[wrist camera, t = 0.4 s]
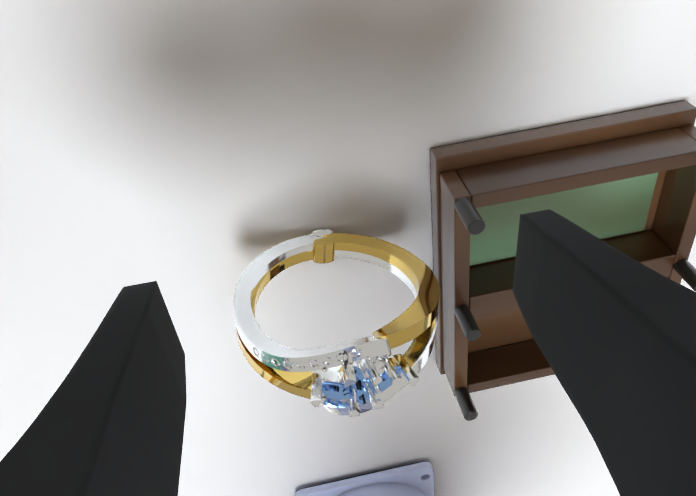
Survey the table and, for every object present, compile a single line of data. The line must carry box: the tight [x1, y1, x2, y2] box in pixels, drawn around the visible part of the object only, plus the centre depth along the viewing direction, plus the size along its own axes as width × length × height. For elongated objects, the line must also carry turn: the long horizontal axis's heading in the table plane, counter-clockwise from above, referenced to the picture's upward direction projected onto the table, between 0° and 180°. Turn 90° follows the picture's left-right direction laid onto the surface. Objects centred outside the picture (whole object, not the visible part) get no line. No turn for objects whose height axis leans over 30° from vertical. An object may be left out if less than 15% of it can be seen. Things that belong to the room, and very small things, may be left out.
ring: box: [233, 229, 440, 417], centre depth 21 cm, size 7×3×8 cm, turn 87°
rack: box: [430, 101, 696, 421], centre depth 25 cm, size 12×10×4 cm
